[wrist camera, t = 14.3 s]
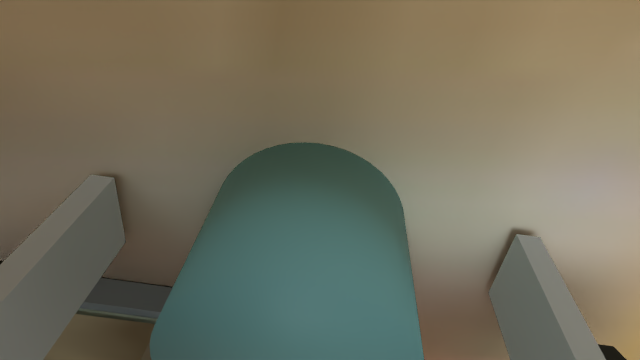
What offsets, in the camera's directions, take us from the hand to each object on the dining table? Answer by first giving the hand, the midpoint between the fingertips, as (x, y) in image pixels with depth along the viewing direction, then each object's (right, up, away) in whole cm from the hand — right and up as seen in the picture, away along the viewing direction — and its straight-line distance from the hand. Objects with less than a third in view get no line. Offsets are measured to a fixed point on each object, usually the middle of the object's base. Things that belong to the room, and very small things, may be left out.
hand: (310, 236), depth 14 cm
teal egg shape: (0, 0, 0) cm, 0 cm away
